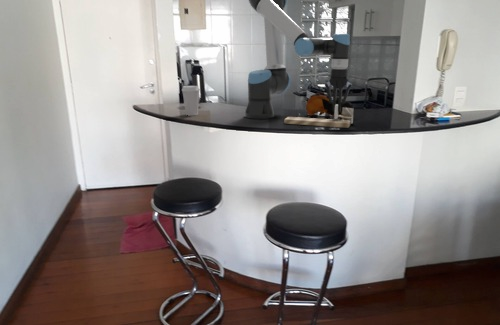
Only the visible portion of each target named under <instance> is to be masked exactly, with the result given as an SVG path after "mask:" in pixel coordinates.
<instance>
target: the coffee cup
mask: <svg viewBox="0 0 500 325" xmlns="http://www.w3.org/2000/svg"><path fill="white" fill-rule="evenodd" d="M200 90H201V89H200V87H199V86H198V85H184V86H182V89H181V91H182V96H183V104H184V105H183V106H184V112H185V116H187V115H188V116H187V117H192V116H198V115H199V100H200V97H199V96H200V94H199V93H200Z"/></svg>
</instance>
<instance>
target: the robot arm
mask: <svg viewBox="0 0 500 325" xmlns="http://www.w3.org/2000/svg"><path fill="white" fill-rule="evenodd" d="M248 2H249V4H250V6H251V8H252V9H253V10H254V11H255V12H256V13H257V14H258V15H261V16H262V17H263V19H264V20H263V23H264V24H263V25H264V38H265V39H264V40H265V53H266V56H265V58H266V66H265V67H264V69H257V70H256V69H255V70H253V71H249V73H248V78H247V79H248V80H247V82H248V83H247V88H248V90H247V91H248V92H247V93H248V95H247V96H248V102H247V104H246V108H245V112H244V117H245V118H248V119H253V120H265V119H267V120H268V119H272V118H275V111H274V108H273V104H272V95H276V94H277V95H278V94H279V95H280V94H283V93H285V92H287V90H288V89H289V88H290V86H291V84H292V83H291V82H292V79H291V78H292V77H291V76H290V74H289V73H288V72H287V66H286V65H284V60H283V36H284V37H285V38H286V39H287V40H288V41H289V42H290V43H291V44H292V45H293V46H294V51H295V53H296V54H298V56H304V57H307V56H331V69H330V78H329V81H328V82H325V83H324V86H325V88H326V93H327V96H328V99H329V103H331V104H332V105H333V111H334V112H335V113H334V116H333V120H338V119H339V117H337V116H338V112H340V111H341V105H342V104H344V103H345V102H346V101H347V98H348V95H349V92H350V89H351V87H352V86H353V84H352V83H350V82H349V80H348V69H347V68H349V53H350V45H351V43H350V41H351V40H350V38H351V37H350V34H349V33H334V34H333V36H332V38H328V37H327V38H325V37H324V38H320V37H318V38H317V37H316V38H315V37H314V38H312V37H310V36H309V34H308V33H306V31H304V30H303V28H301V26H299V25H298V24H297V23H296V22H295V21H294V20H293V19H292V18H291V17H290V16H289V15H288V14H286V12H285V11H284V9H285V7H286V5H288V0H248ZM330 86H331V87H332V88H333V91H331V87H330ZM344 87H346V90H345V93H344V96H343V89H344ZM337 93H338V94H337ZM332 95H333V96H332ZM337 95H338V96H337ZM336 97H339V98H338V105H337V104H336ZM342 97H343V98H342ZM342 99H343V101H342ZM332 100H333V101H332Z"/></svg>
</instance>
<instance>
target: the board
mask: <svg viewBox="0 0 500 325" xmlns="http://www.w3.org/2000/svg"><path fill="white" fill-rule="evenodd" d="M283 122H284V124H289V125H301V126H302V125H305V126H317V127H331V128H345V129H346V128H347V129H349V128H350V127H351V121H348V120H342V119H332V118H331V119H330V118H328V119H327V118H314V117H313V118H311V117H298V116H297V117H296V116H287V117H286V118H284V121H283Z"/></svg>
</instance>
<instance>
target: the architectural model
mask: <svg viewBox="0 0 500 325" xmlns="http://www.w3.org/2000/svg"><path fill="white" fill-rule="evenodd" d="M337 117H338V118H341V120H348V121H351V123H350V125H351V124H353V122H354V107H352V108H344V107H343V109H342V113H341V115H338V116H337Z"/></svg>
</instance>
